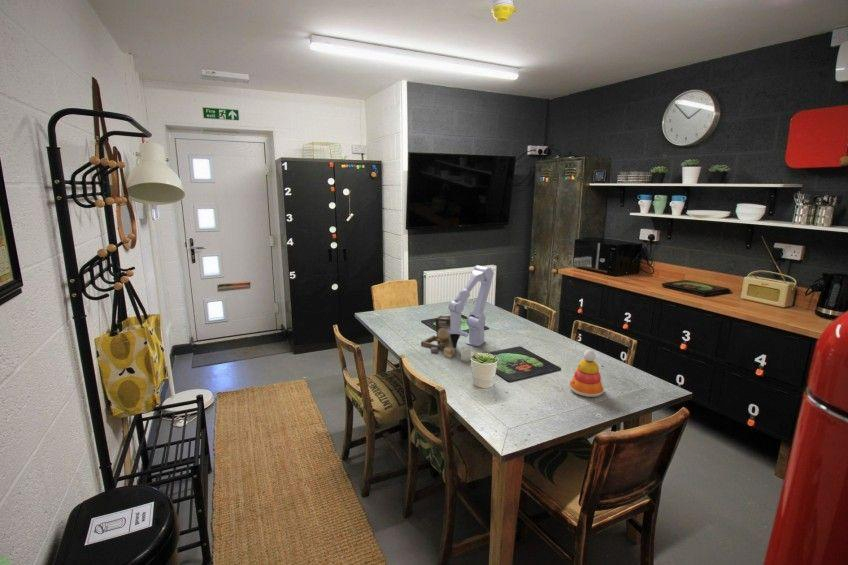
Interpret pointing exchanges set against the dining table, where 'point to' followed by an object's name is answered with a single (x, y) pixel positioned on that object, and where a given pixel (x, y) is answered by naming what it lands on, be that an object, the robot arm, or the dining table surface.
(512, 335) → the dining table surface
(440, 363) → the dining table surface
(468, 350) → the pale grey rounded cylinder
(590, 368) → the stacking toy
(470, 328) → the robot arm
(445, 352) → the oak block
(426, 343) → the walnut bay
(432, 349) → the rubber puck
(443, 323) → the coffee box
